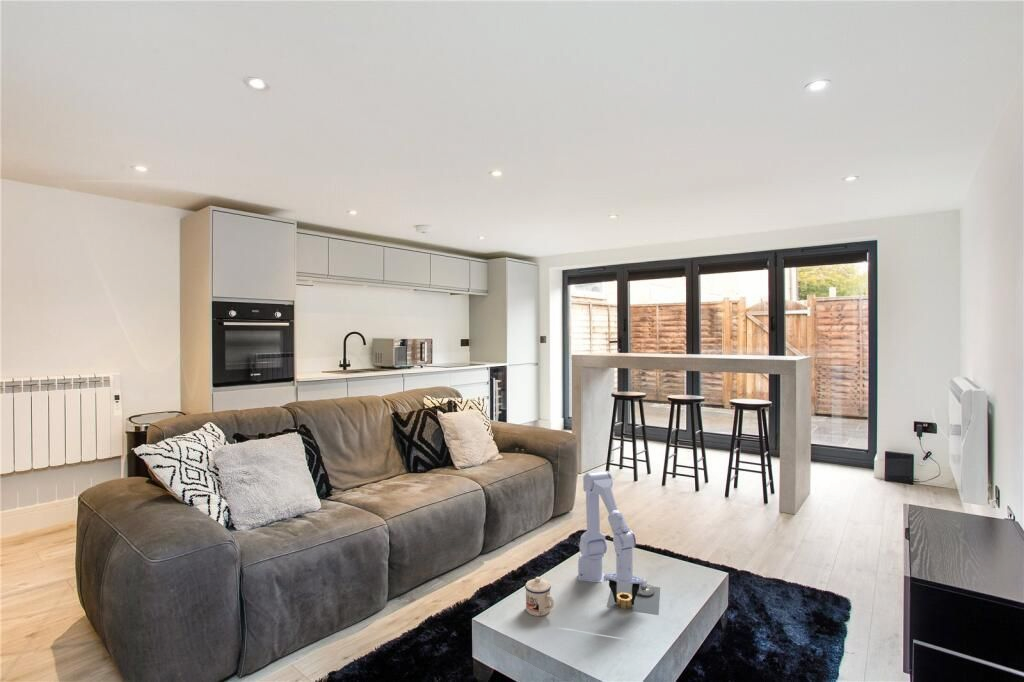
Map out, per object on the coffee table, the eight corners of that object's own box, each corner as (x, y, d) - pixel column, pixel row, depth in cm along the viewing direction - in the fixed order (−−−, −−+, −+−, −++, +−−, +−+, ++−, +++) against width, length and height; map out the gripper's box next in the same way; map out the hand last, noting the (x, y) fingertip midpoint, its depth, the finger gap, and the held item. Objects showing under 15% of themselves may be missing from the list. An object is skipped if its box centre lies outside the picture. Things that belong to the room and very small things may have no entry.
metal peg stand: (631, 595, 196) (631, 584, 196) (633, 584, 204) (633, 574, 204) (653, 598, 194) (653, 587, 194) (654, 587, 201) (654, 577, 201)
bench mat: (606, 607, 188) (606, 606, 188) (613, 581, 207) (613, 580, 207) (658, 616, 183) (658, 614, 183) (660, 588, 202) (660, 587, 202)
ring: (615, 607, 187) (615, 599, 187) (617, 600, 193) (617, 591, 192) (631, 610, 186) (631, 601, 186) (632, 602, 191) (632, 593, 191)
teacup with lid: (520, 609, 188) (519, 577, 187) (538, 600, 194) (537, 569, 193) (544, 623, 179) (543, 589, 178) (562, 613, 185) (562, 581, 184)
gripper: (602, 567, 187) (602, 605, 187) (644, 573, 183) (644, 611, 183) (605, 559, 194) (605, 595, 194) (645, 564, 189) (645, 601, 190)
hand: (624, 602), depth 189 cm, fingers closed on ring, 5 cm apart
